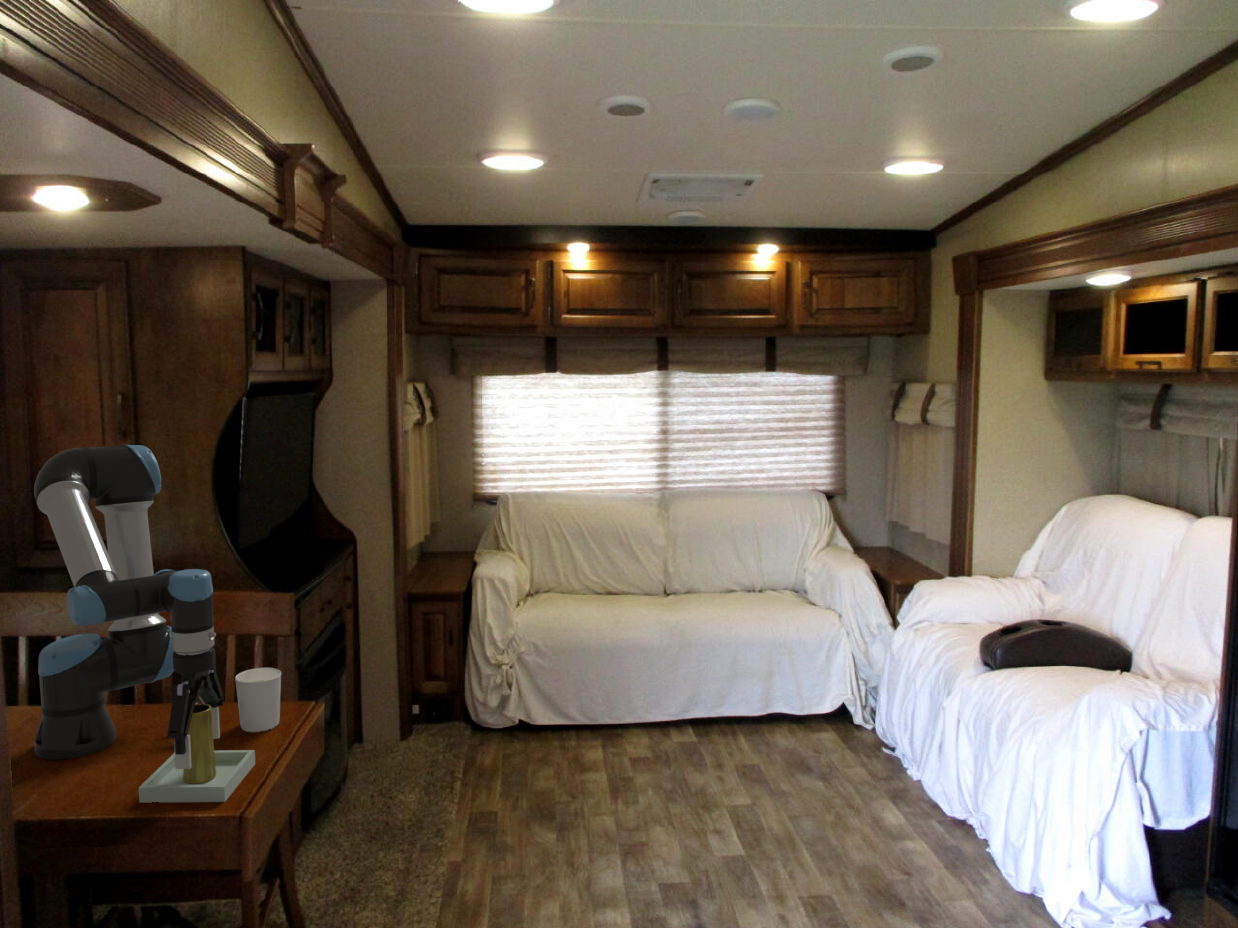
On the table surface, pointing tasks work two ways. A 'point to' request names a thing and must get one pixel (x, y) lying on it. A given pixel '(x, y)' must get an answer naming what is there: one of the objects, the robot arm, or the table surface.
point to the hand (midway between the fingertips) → (198, 752)
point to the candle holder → (259, 698)
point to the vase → (201, 746)
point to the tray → (172, 788)
